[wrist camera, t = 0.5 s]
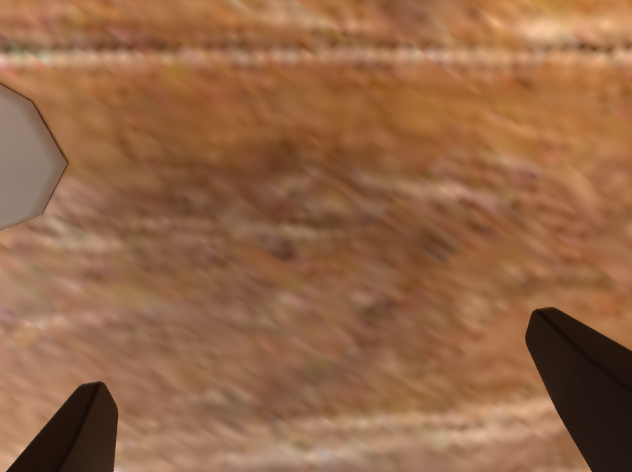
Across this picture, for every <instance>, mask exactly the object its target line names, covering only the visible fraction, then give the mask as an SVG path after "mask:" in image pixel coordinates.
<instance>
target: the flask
mask: <svg viewBox="0 0 632 472" xmlns="http://www.w3.org/2000/svg"><path fill="white" fill-rule="evenodd" d="M66 165H67V163H66V161H65V159H64V157H63V156H62V154H61V152H60V150H59V149H58V147H57V145H56V144H55V142H54V140H53V138H52V137H51V135H50V133H49V131H48V130H47V128H46V126H45V124H44V123H43V121H42V119H41V118H40V116H39V114H38V112H37V111H36V109H35V107H34V105H33V104H32V102H31V101H29V100H27V99H25V98H24V97H22V96H20V95H18V94H17V93H15V92H13V91H11V90H9V89H8V88H6V87H4V86H2V85H1V84H0V230H2V229H5V228H8V227H10V226H13V225H16V224H18V223H21V222H24V221H26V220H29V219H32V218H34V217H37V216H40V215H41V214H42V212H43V210H44V208H45V206H46V204H47V202H48V200H49V198H50V196H51V194H52V192H53V190H54V188H55V187H56V185H57V183H58V181H59V179H60V177H61V175H62V173H63V171H64V169H65V167H66Z"/></svg>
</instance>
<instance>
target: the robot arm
mask: <svg viewBox="0 0 632 472" xmlns="http://www.w3.org/2000/svg"><path fill="white" fill-rule="evenodd" d="M525 340H526V345H527V347H528V350H529V352H530V354H531V356H532V358H533V361H534V363H535V365H536V367H537V369H538V372H539V374H540V376H541V378H542V380H543V383H544V385H545V387H546V389H547V391H548V394H549V396H550V398H551V400H552V402H553V404H554V406H555V408H556V410H557V412H558V414H559V416H560V418H561V419H562V421H563V423H564V425H565V426H566V428H567V430H568V431H569V433H570V435H571V437H572V438H573V440H574V442H575V443H576V445H577V447H578V449H579V450H580V452H581V454H582V455H583V457H584V459H585V460H586V462H587V464H588V466H589V467H590V469H591V471H592V472H632V351H631V350H629V349H627V348H626V347H624V346H622V345H620V344H619V343H617V342H615V341H613V340H612V339H610V338H608V337H606V336H604V335H603V334H601V333H599V332H597V331H596V330H594V329H592V328H590V327H589V326H587V325H585V324H583V323H581V322H580V321H578V320H576V319H574V318H573V317H571V316H569V315H567V314H566V313H564V312H562V311H560V310H558V309H556V308H554V307H546V308H540V309H536V310H534V311H533V312H532V314H531V317H530V321H529V324H528V328H527V331H526V335H525ZM117 424H118V409H117V405H116V403H115V401H114V399H113V398H112V396H111V394H110V392H109V390H108V388H107V386H106V385H105V383H103V382H101V381H98V382H92V383H86V384H82V385H80V386H79V387H78V388H77V389H76V390H75V391H74V392H73V393H72V395H71V396H70V397H69V398H68V399H67V400H66V402H65V403H64V404H63V405H62V406H61V408H60V409H59V410H58V411H57V412H56V413H55V415H54V416H53V417H52V418H51V419H50V420H49V422H48V423H47V424H46V425H45V426H44V428H43V429H42V430H41V431H40V432H39V433H38V435H37V436H36V437H35V438H34V439H33V440H32V442H31V443H30V444H29V445H28V446H27V447H26V449H25V450H24V451H23V452H22V453H21V455H20V456H19V457H18V458H17V459H16V460H15V462H14V463H13V464H12V465H11V466H10V467H9V469H8V470H7V471H6V472H113V471H114V459H115V447H116V435H117Z"/></svg>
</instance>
